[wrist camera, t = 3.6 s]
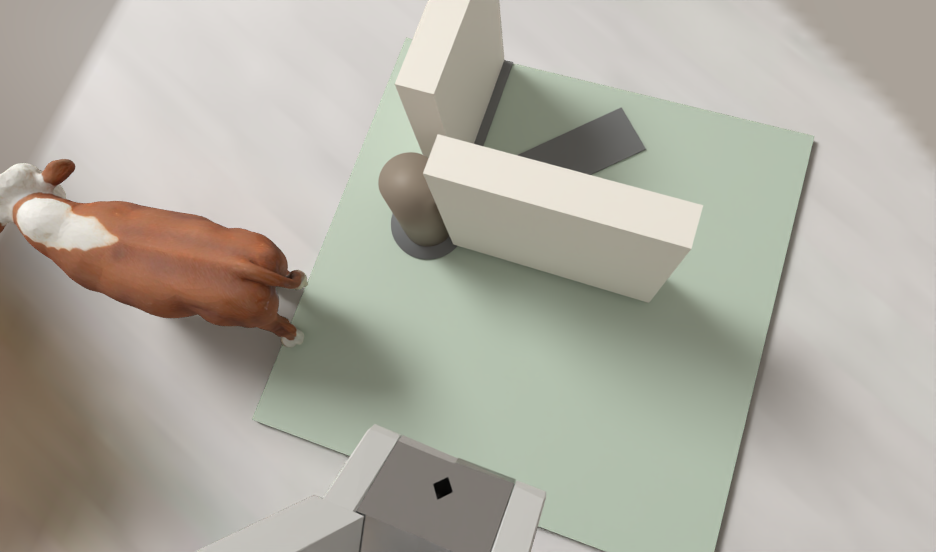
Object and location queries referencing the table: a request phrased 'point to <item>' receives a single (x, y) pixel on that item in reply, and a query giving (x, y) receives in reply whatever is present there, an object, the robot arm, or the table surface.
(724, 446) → the mat
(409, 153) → the fixed rail
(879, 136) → the table surface
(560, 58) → the table surface
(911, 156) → the table surface
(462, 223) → the white rectangular slab
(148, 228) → the bull figurine
